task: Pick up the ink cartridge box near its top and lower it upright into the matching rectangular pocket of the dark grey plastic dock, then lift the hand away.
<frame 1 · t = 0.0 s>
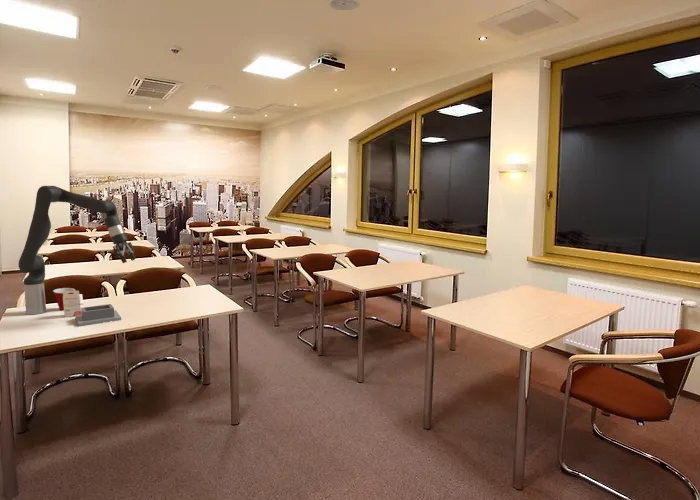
hand: (129, 261, 235), 31 cm above the table, tool tilted 20°, fingers open, 8 cm apart
ink cartridge box: (74, 315, 238), on the table
plastic cup: (65, 309, 249), on the table
dock: (98, 319, 231), on the table
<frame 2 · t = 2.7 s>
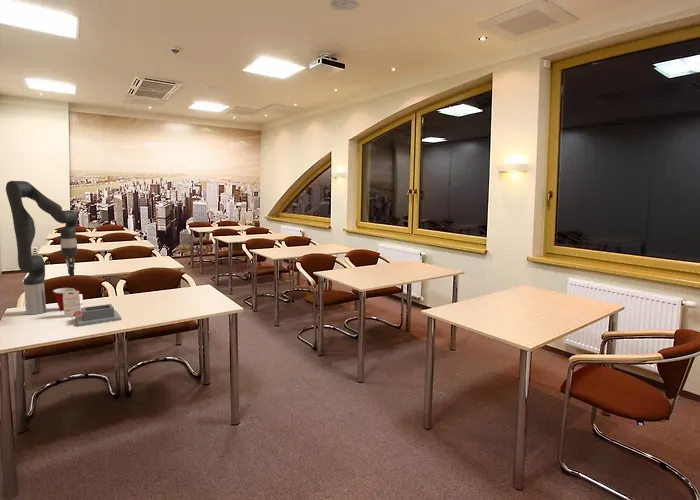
hand: (71, 274, 234), 23 cm above the table, tool pointing down, fingers open, 8 cm apart
nothing on the table moved.
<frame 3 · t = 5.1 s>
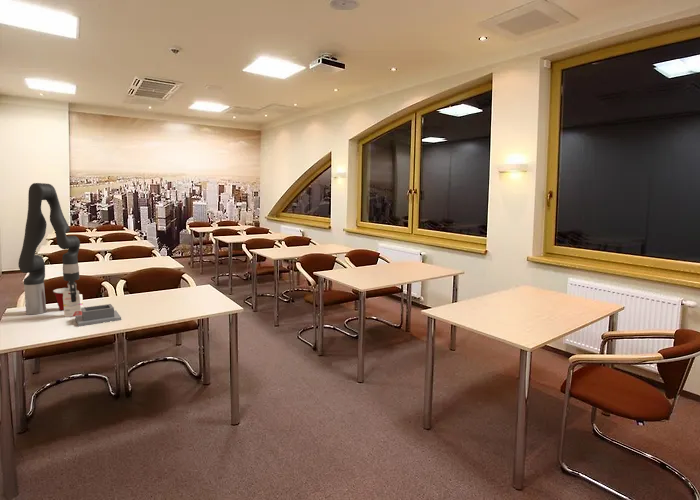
hand: (73, 300, 236), 9 cm above the table, tool pointing down, fingers closed on ink cartridge box, 6 cm apart
ink cartridge box: (74, 315, 238), on the table, touching gripper
everything else where it was.
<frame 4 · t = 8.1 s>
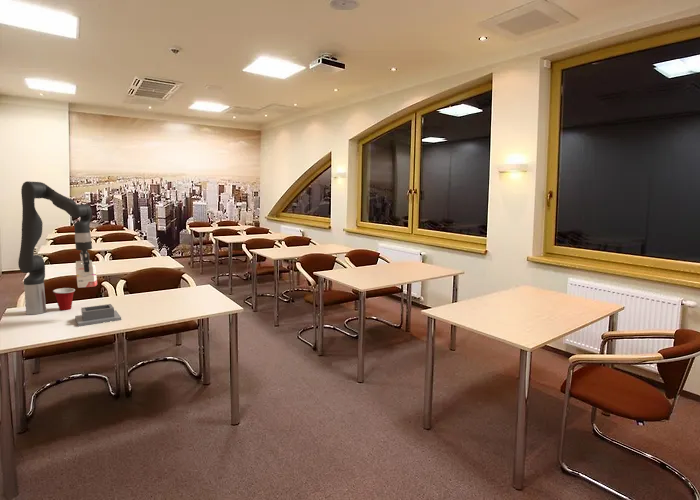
hand: (86, 270, 230), 27 cm above the table, tool pointing down, fingers closed on ink cartridge box, 6 cm apart
ink cartridge box: (87, 286, 231), point 18 cm above the table, touching gripper
everything else where it was.
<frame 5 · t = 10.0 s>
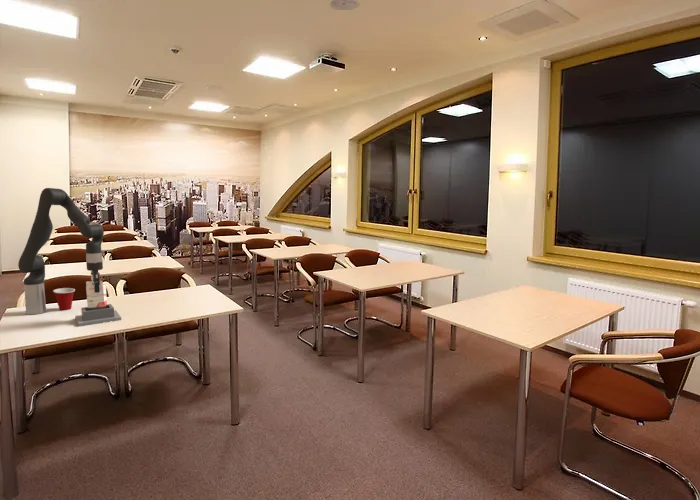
hand: (96, 291, 229), 16 cm above the table, tool pointing down, fingers closed on ink cartridge box, 6 cm apart
ink cartridge box: (97, 306, 230), point 7 cm above the table, touching gripper
everything else where it was.
when the fingers open (12 cm above the table, at t = 11.4 s): ink cartridge box drops 2 cm, resting on dock.
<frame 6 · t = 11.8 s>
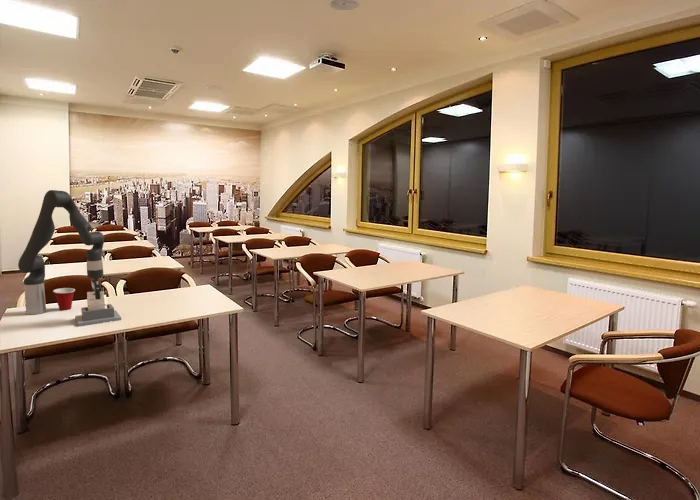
hand: (96, 297, 229), 12 cm above the table, tool pointing down, fingers open, 8 cm apart
ink cartridge box: (98, 316, 231), point 1 cm above the table, touching dock
everything else where it was.
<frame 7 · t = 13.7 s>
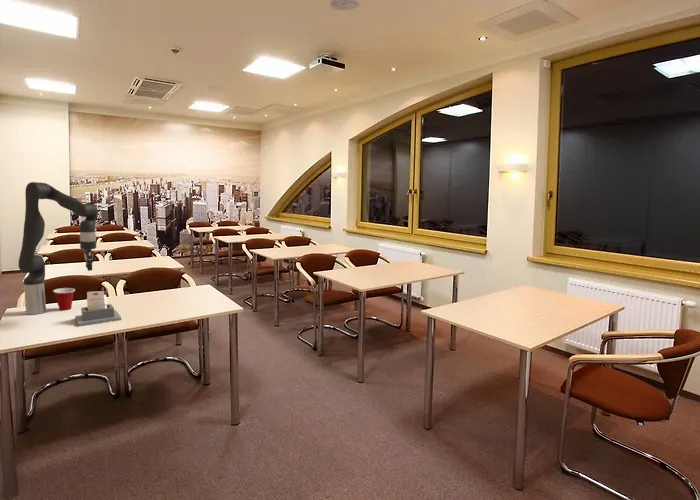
hand: (89, 269, 231), 27 cm above the table, tool pointing down, fingers open, 8 cm apart
nothing on the table moved.
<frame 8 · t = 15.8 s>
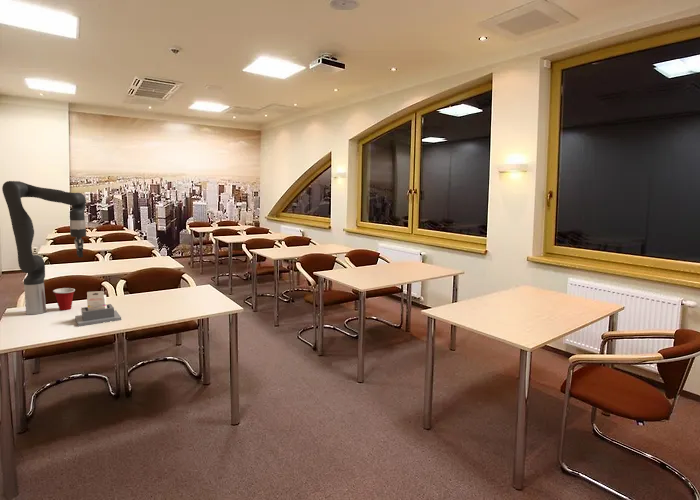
hand: (79, 256, 239), 33 cm above the table, tool pointing down, fingers open, 8 cm apart
nothing on the table moved.
at the end: ink cartridge box 0.1 cm off-centre on the dock, point 1.3 cm above the dock's base; ink cartridge box tilted 0°; the gripper is holding nothing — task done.
